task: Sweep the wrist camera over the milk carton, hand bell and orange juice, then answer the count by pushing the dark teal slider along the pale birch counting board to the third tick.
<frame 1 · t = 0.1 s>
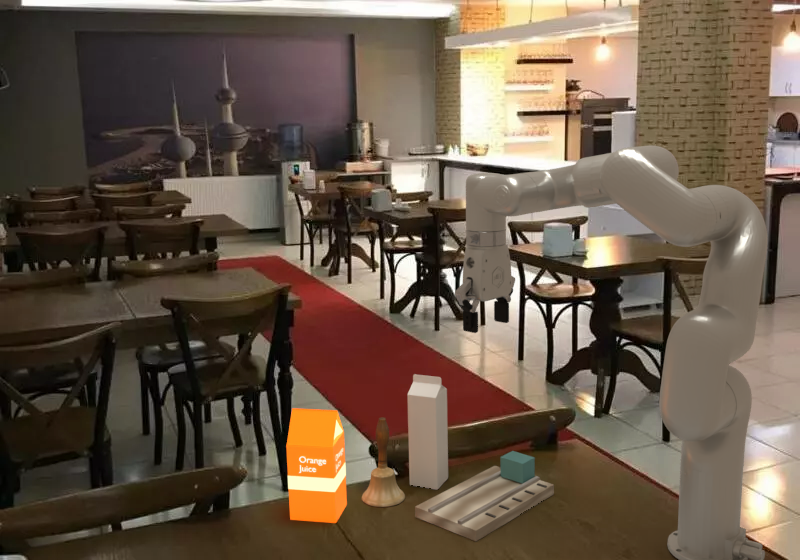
hand: (486, 326, 165), 31 cm above the table, fingers open, 9 cm apart
orange juice: (319, 512, 158), on the table
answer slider: (517, 466, 165), point 4 cm above the table, slide at 0.0 cm
milk: (429, 482, 170), on the table
hand bell: (383, 498, 163), on the table
count board: (486, 505, 159), on the table
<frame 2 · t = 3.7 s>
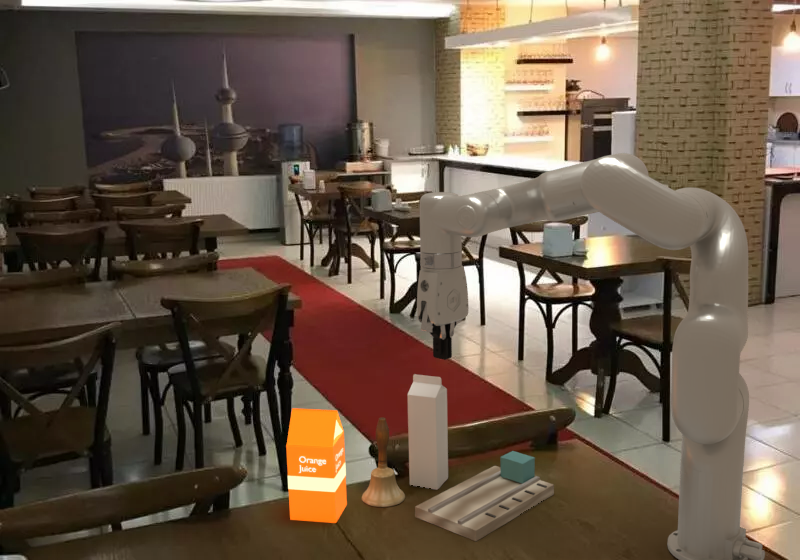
hand: (442, 357, 159), 27 cm above the table, fingers closed
nothing on the table moved.
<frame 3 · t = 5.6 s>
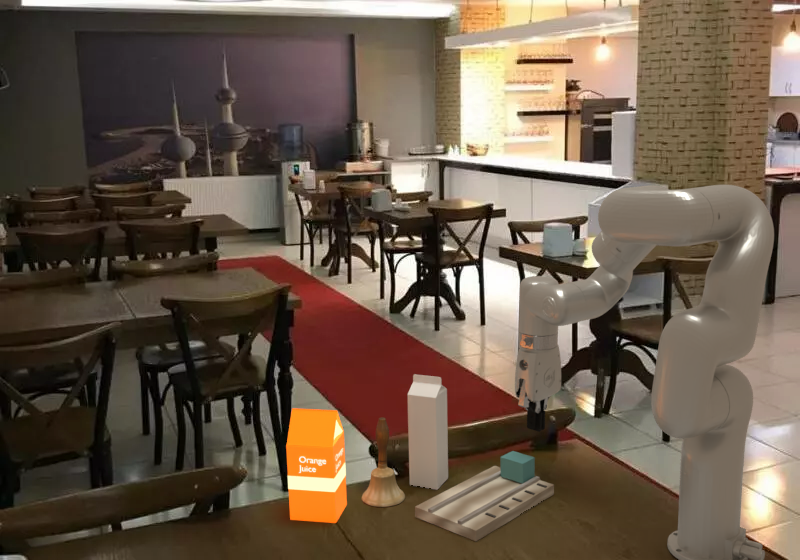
hand: (535, 428, 170), 10 cm above the table, fingers closed
nothing on the table moved.
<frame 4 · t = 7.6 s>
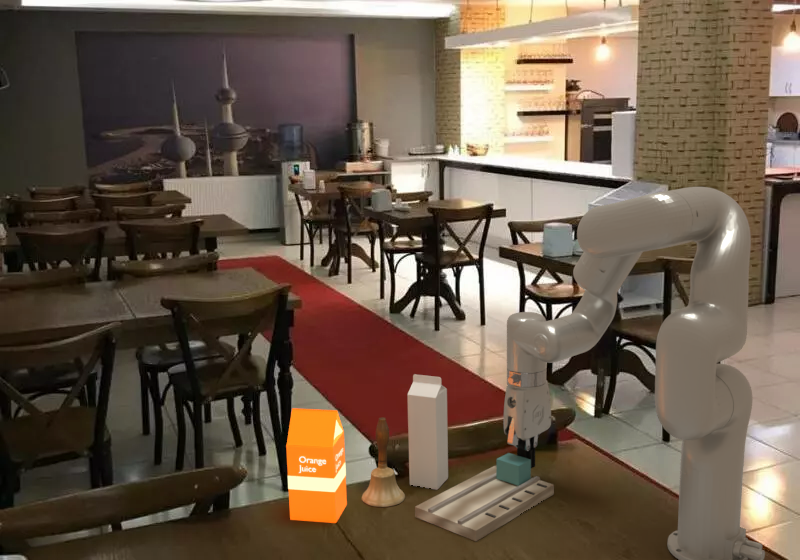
hand: (526, 466, 167), 3 cm above the table, fingers closed
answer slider: (513, 469, 164), point 4 cm above the table, slide at 1.3 cm, touching gripper
everything else where it was.
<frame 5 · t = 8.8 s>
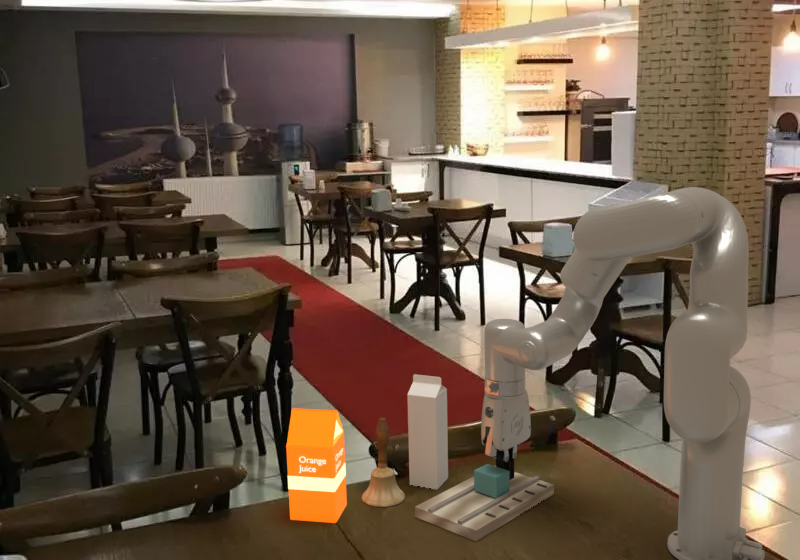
hand: (505, 477, 162), 3 cm above the table, fingers closed
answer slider: (491, 480, 159), point 4 cm above the table, slide at 8.3 cm, touching gripper
everything else where it was.
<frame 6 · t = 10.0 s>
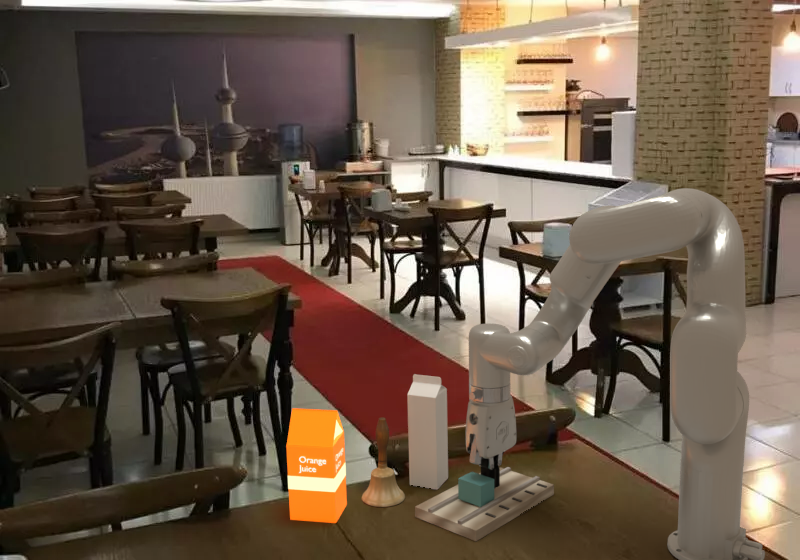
hand: (490, 485, 159), 3 cm above the table, fingers closed
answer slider: (476, 488, 156), point 4 cm above the table, slide at 12.9 cm, touching gripper
everything else where it was.
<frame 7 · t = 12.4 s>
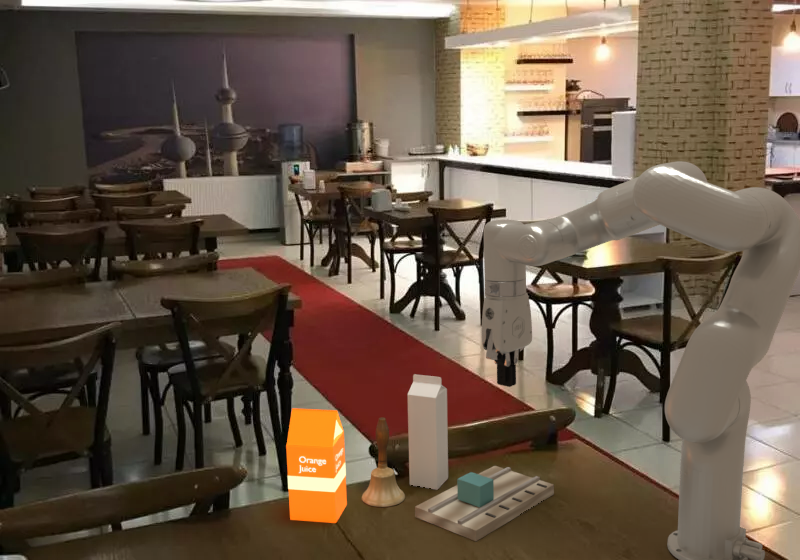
hand: (506, 384, 159), 22 cm above the table, fingers closed
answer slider: (475, 489, 156), point 4 cm above the table, slide at 13.2 cm
everything else where it was.
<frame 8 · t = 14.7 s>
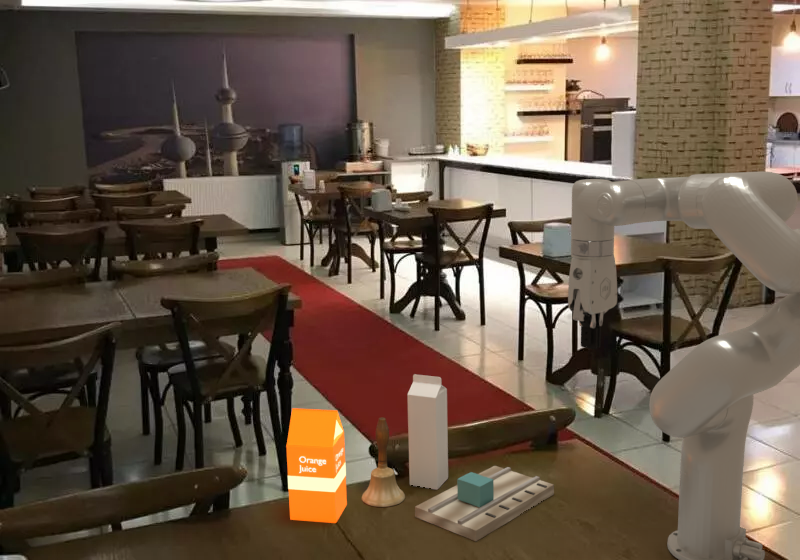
hand: (590, 347, 157), 29 cm above the table, fingers closed
nothing on the table moved.
at the end: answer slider slide at 13.2 cm; milk moved 0.2 cm from its start; hand bell moved 0.3 cm from its start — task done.
